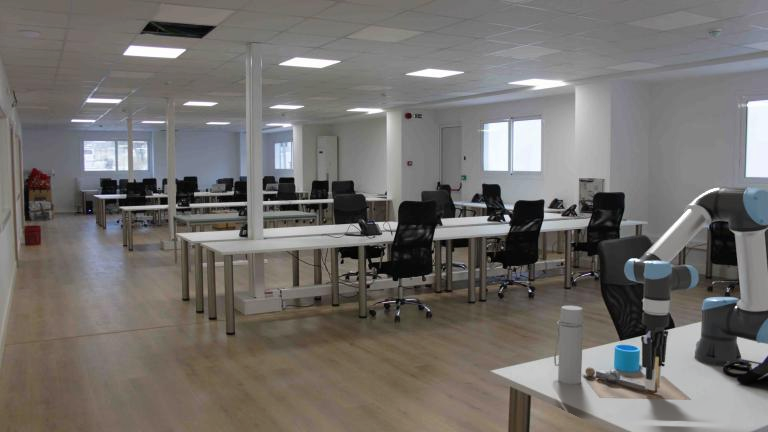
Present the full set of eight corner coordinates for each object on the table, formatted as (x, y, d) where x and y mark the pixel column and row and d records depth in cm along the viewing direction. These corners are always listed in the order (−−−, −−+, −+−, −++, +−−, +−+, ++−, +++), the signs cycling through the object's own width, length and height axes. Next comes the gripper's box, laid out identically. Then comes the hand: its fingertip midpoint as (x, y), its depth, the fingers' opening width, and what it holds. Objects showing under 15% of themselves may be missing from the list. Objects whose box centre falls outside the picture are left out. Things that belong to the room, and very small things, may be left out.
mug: (631, 376, 215) (632, 352, 214) (609, 370, 221) (610, 347, 220) (649, 369, 222) (650, 346, 222) (627, 363, 229) (628, 341, 228)
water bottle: (585, 383, 207) (588, 307, 205) (573, 389, 202) (576, 311, 200) (560, 376, 214) (562, 303, 212) (547, 382, 208) (550, 306, 206)
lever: (594, 378, 207) (595, 344, 206) (601, 375, 210) (602, 342, 209) (653, 395, 193) (655, 358, 192) (660, 391, 196) (661, 355, 195)
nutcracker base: (663, 379, 212) (664, 366, 211) (691, 403, 191) (691, 388, 190) (581, 377, 213) (581, 364, 213) (599, 401, 192) (600, 386, 192)
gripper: (655, 306, 201) (652, 378, 203) (631, 314, 191) (628, 390, 193) (679, 310, 196) (676, 385, 198) (656, 318, 185) (652, 397, 187)
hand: (652, 387), depth 195 cm, fingers open, 3 cm apart
